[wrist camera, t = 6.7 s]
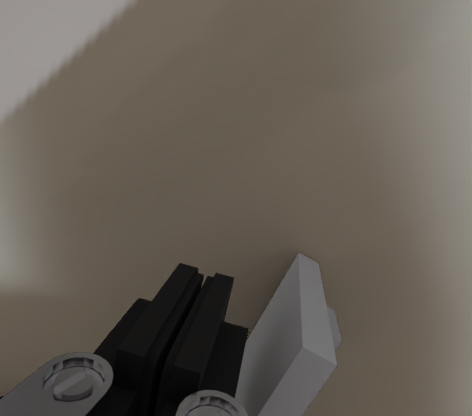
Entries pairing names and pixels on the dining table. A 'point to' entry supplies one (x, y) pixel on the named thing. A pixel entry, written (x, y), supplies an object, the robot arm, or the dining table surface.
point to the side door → (290, 346)
